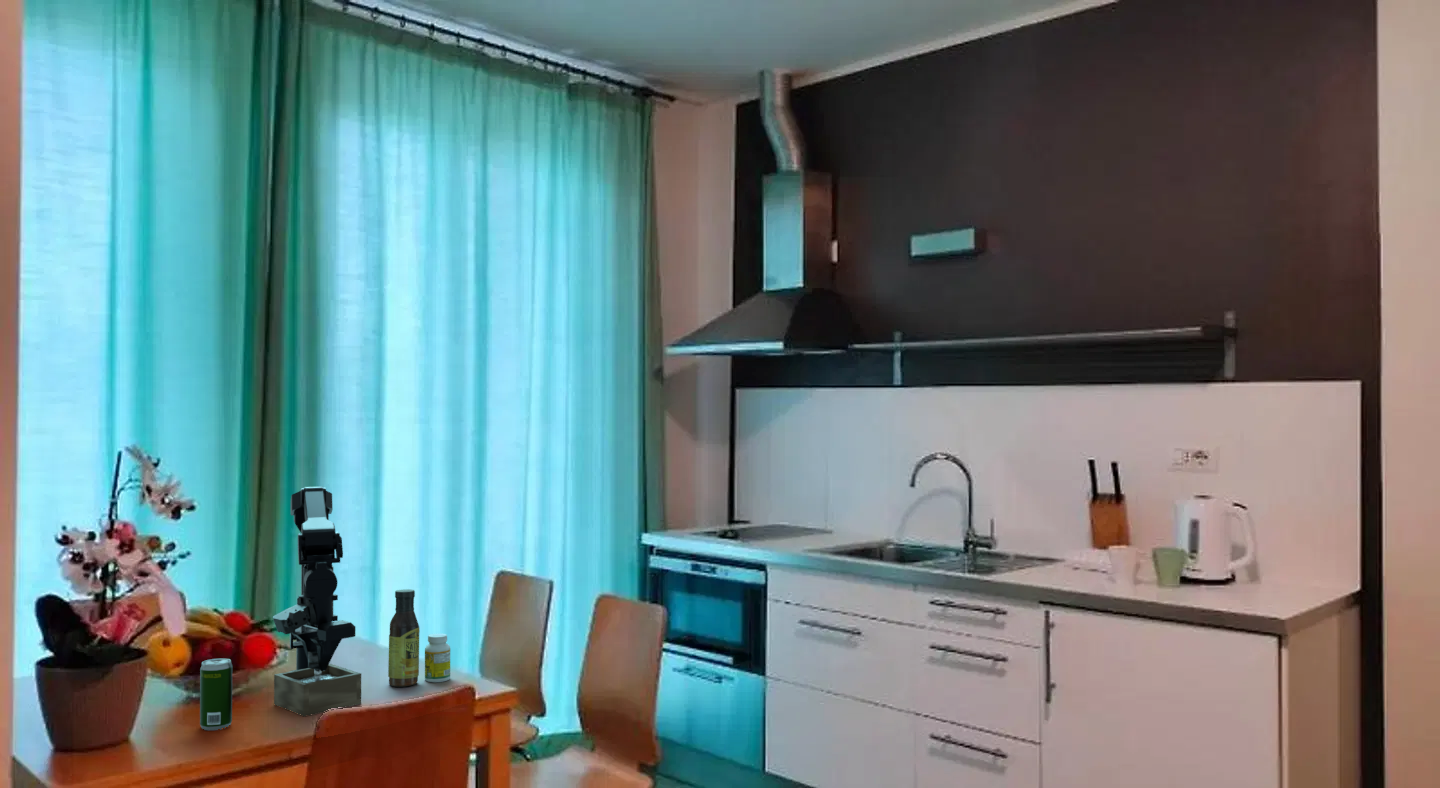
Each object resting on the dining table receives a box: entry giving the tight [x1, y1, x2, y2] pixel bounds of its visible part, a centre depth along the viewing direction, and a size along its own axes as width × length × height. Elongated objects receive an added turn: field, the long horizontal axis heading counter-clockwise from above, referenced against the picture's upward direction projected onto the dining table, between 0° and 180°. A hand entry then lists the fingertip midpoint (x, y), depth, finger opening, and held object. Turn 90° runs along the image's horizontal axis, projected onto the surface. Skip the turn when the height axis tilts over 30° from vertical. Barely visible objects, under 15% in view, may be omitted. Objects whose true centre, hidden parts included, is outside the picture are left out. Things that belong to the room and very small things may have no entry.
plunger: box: [298, 650, 337, 683], centre depth 218 cm, size 9×9×7 cm
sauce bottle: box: [387, 588, 420, 688], centre depth 234 cm, size 6×6×20 cm
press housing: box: [273, 663, 362, 717], centre depth 218 cm, size 12×12×6 cm
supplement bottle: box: [424, 633, 451, 683], centre depth 238 cm, size 5×5×10 cm
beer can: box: [199, 658, 233, 731], centre depth 203 cm, size 5×5×12 cm
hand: (317, 669), depth 218 cm, fingers closed on plunger, 4 cm apart
